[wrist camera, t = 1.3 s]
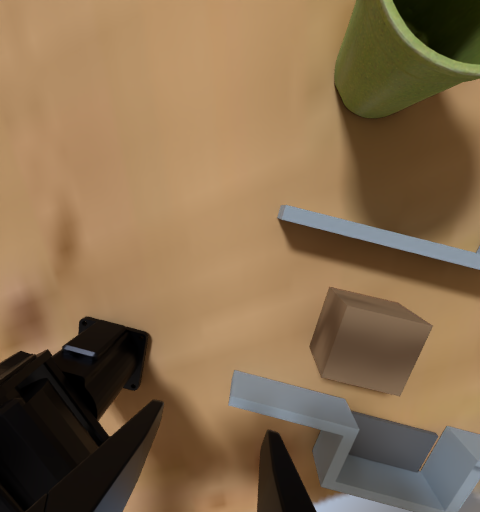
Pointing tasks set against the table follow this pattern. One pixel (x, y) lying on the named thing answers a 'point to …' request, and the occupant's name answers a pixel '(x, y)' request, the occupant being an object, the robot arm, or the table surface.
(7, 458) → the robot arm
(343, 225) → the grey zigzag track
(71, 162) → the table surface
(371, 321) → the block
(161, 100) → the table surface
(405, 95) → the plant pot
